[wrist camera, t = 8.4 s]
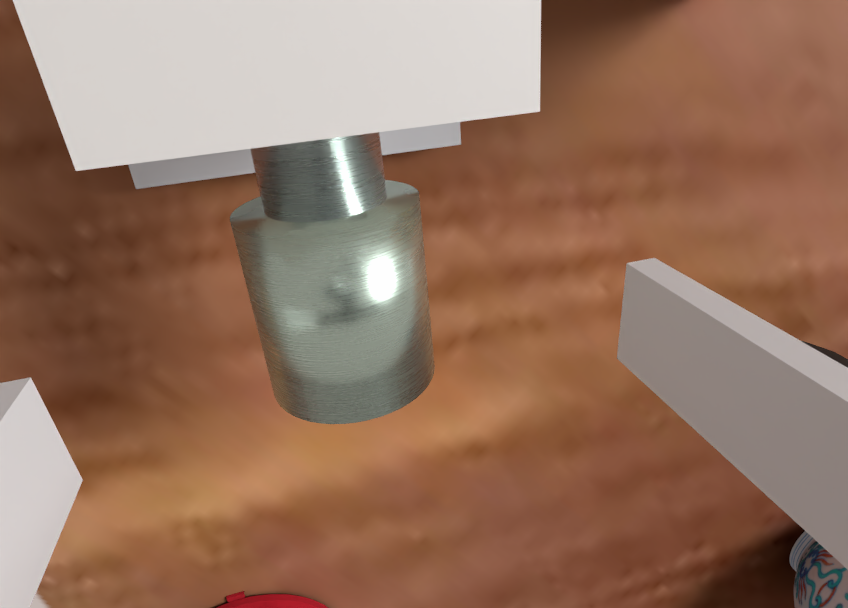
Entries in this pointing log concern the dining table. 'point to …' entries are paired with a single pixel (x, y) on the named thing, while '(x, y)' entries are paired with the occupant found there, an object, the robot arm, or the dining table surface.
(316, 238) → the shaft
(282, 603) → the alarm clock
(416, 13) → the housing
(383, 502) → the dining table surface
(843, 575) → the chinaware
